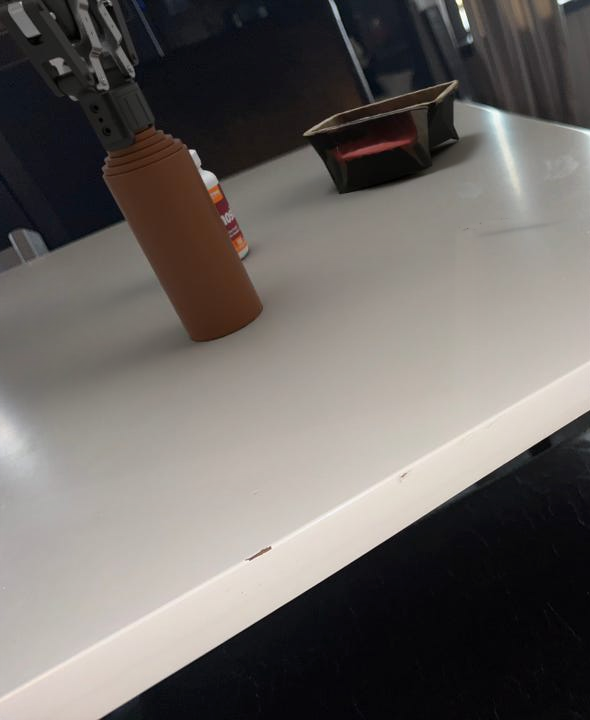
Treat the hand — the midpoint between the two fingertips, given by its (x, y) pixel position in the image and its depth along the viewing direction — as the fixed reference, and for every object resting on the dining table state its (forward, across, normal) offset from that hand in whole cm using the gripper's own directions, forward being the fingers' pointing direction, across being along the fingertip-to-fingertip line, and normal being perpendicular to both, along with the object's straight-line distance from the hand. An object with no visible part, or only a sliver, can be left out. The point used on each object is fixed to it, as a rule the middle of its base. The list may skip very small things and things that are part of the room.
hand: (132, 139), depth 56 cm
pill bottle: (+16, -16, -4) cm, 23 cm away
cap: (-3, 0, 0) cm, 3 cm away
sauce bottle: (+16, 0, 0) cm, 16 cm away
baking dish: (+16, -32, +14) cm, 39 cm away
